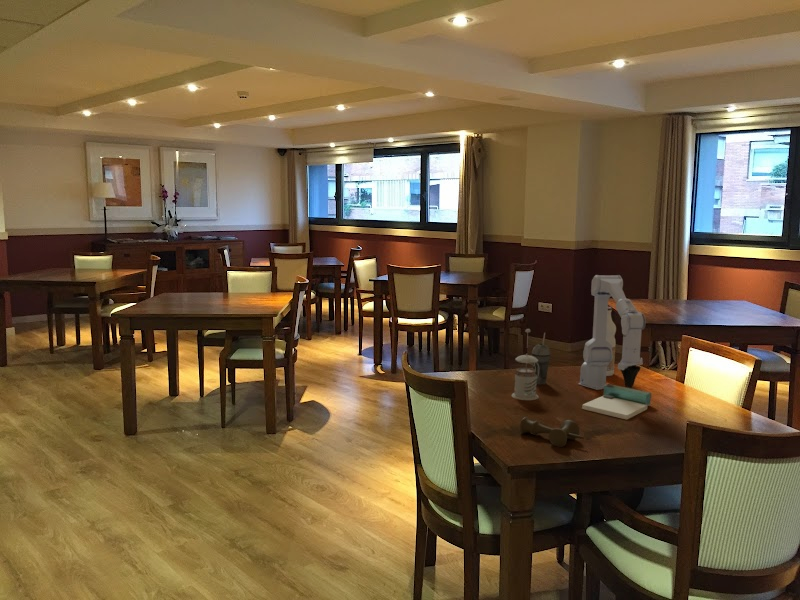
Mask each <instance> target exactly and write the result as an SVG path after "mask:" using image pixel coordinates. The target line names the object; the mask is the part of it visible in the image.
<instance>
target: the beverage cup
mask: <svg viewBox="0 0 800 600" xmlns="http://www.w3.org/2000/svg"><path fill="white" fill-rule="evenodd" d="M545 339H546V332H544V333H543V338H542V343H538V344H536V345H534V347H533V349H532V351H531V356H533V357H535V358H536V359H538V361H537V363H538V364H537V363H535V366H532V369H534V370H535V367H536V373H535V374H536V375H537V376H538V378H537V382H536V385H542V386H543V385H546V383H547V377H548V370H549V363H550V360H551V350H550V347H548V345H546V344H545ZM532 365H534V363H532ZM538 365H539V368H538ZM538 371H539V375H538Z"/></svg>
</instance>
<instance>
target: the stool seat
mask: <svg viewBox="0 0 800 600" xmlns="http://www.w3.org/2000/svg"><path fill="white" fill-rule="evenodd" d="M581 409H582V410H585V411H589V412H593V413H598V414H600V415H601V414H602V415H605V416H610V417H614V418H619V419H622V420H630V419H631V418H633V417H635V416H637V415H639V414H641V413H643V412H644V411H646V410H648V406H647V405H645V404H641V403H636V402H632V401H627V400H623V399H618V398H614V396H610V395H604V394H603V395H602V396H599V397H597V398H594V399H592V400H590V401H587V402H585V403H583V404H582V407H581Z"/></svg>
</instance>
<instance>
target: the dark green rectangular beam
mask: <svg viewBox="0 0 800 600" xmlns="http://www.w3.org/2000/svg"><path fill="white" fill-rule="evenodd" d="M604 395H610V396H614V398H618V399H623V400H627V401H632V402H636V403H641V404H645V405H647V407H648V406H649V405H651V398H652V393H651V392H648V391H643V390H639V389H634V388H629V387H625V386H620V385H615V384H610V383H609V384H606V386H604V389H603V396H604Z"/></svg>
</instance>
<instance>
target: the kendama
mask: <svg viewBox="0 0 800 600" xmlns="http://www.w3.org/2000/svg"><path fill="white" fill-rule="evenodd" d="M519 432H520V433H521V435H522V434H524V435H525V434H527V433H530V434H533V435H534V436H537V435H538V434H540V435H541V434H543V435H544V434H548V439H549V441H550V443H551V445H553V446H554V447H557V448H563V447H565V446H566V445H567V441H568V440H573V441H574V440H576V439H579V440H580V439H582V440H585V436H583V435H580V433H581V431H580V427H579V424H578V423H577V422H575V421H574V420H572V419H566V420H564V421H562V423H561V424H560V428H557V427H556V428H552V427H550V426H546V425H544V424H542V423H541V422H540V421H539V420H535V421H533V420H530V419H529V418H528V417H527V416H524V417H523V418H522V419H521V420H520V423H519Z"/></svg>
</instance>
